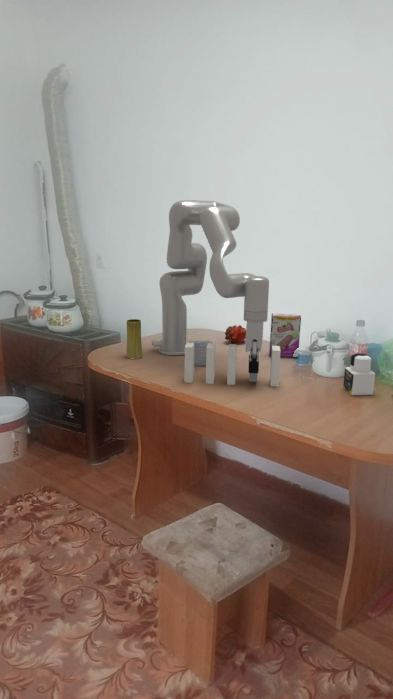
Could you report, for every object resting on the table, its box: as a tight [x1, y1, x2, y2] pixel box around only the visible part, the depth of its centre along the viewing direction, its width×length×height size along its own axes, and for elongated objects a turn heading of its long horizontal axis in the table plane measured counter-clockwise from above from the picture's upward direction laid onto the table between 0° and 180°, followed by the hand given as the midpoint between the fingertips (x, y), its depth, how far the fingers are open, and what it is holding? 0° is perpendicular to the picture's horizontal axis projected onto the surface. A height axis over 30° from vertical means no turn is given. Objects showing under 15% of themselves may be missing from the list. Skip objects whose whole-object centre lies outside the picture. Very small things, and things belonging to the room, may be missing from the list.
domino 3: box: [226, 343, 238, 386], centre depth 169 cm, size 2×6×12 cm, turn 174°
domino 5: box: [269, 346, 281, 388], centre depth 168 cm, size 2×6×12 cm, turn 174°
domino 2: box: [205, 342, 216, 385], centre depth 170 cm, size 2×6×12 cm, turn 174°
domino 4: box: [248, 342, 258, 382], centre depth 168 cm, size 2×6×12 cm, turn 174°
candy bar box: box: [268, 312, 302, 358], centre depth 199 cm, size 11×5×16 cm, turn 84°
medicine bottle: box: [343, 352, 376, 396], centre depth 161 cm, size 7×7×12 cm
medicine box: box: [188, 339, 213, 367], centre depth 188 cm, size 8×4×9 cm, turn 107°
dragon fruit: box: [224, 324, 246, 344], centre depth 220 cm, size 8×8×12 cm
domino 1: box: [184, 342, 195, 384], centre depth 171 cm, size 2×6×12 cm, turn 174°
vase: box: [125, 318, 143, 359], centre depth 196 cm, size 6×6×14 cm
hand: (253, 369), depth 169 cm, fingers closed on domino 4, 6 cm apart
